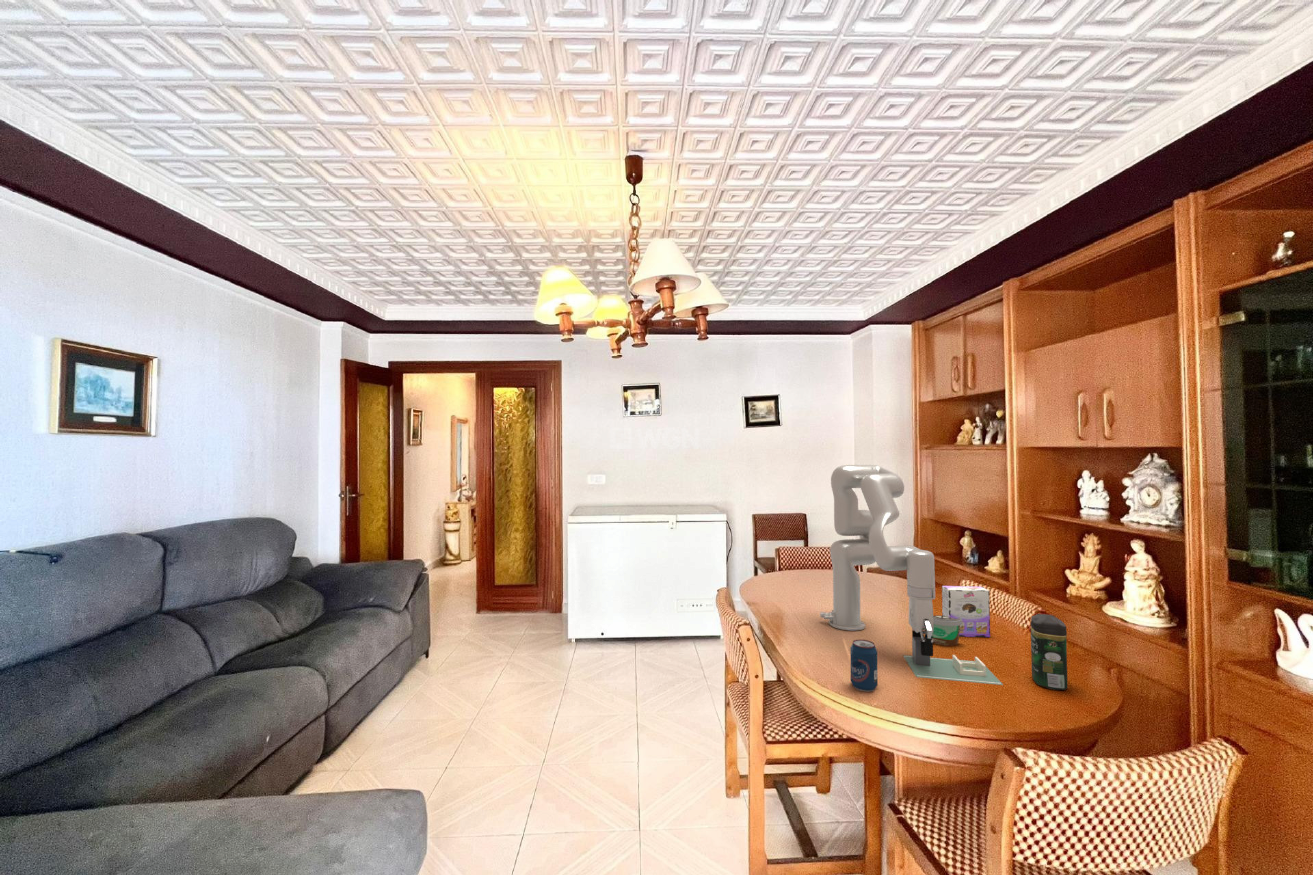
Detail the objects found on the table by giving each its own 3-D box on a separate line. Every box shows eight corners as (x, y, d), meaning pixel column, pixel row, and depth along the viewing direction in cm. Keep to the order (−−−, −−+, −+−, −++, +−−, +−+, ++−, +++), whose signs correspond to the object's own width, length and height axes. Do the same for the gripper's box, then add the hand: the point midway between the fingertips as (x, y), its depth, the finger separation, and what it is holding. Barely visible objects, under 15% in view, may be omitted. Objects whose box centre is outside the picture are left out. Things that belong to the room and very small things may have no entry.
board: (916, 681, 149) (916, 676, 149) (902, 659, 165) (902, 654, 165) (1003, 689, 144) (1003, 684, 144) (981, 665, 160) (981, 661, 160)
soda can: (846, 686, 145) (845, 642, 146) (857, 678, 150) (857, 636, 151) (871, 695, 141) (870, 649, 141) (881, 686, 145) (881, 643, 146)
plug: (915, 664, 157) (915, 639, 157) (912, 659, 161) (912, 635, 161) (930, 666, 156) (930, 640, 157) (926, 660, 160) (926, 636, 160)
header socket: (960, 674, 151) (960, 663, 151) (952, 665, 157) (952, 654, 157) (985, 676, 149) (985, 665, 149) (977, 667, 156) (977, 656, 156)
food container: (920, 646, 175) (920, 616, 175) (921, 640, 180) (920, 611, 181) (963, 653, 169) (963, 622, 169) (962, 646, 175) (962, 616, 175)
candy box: (982, 631, 189) (981, 585, 189) (990, 637, 183) (990, 590, 184) (941, 630, 190) (941, 584, 191) (949, 636, 185) (948, 589, 185)
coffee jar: (1028, 673, 154) (1028, 610, 154) (1062, 679, 150) (1061, 613, 151) (1034, 687, 145) (1034, 619, 146) (1070, 693, 142) (1069, 624, 142)
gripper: (901, 584, 168) (902, 638, 168) (915, 598, 151) (916, 659, 151) (926, 585, 167) (927, 640, 166) (943, 599, 150) (945, 661, 149)
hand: (922, 649), depth 158 cm, fingers open, 9 cm apart
